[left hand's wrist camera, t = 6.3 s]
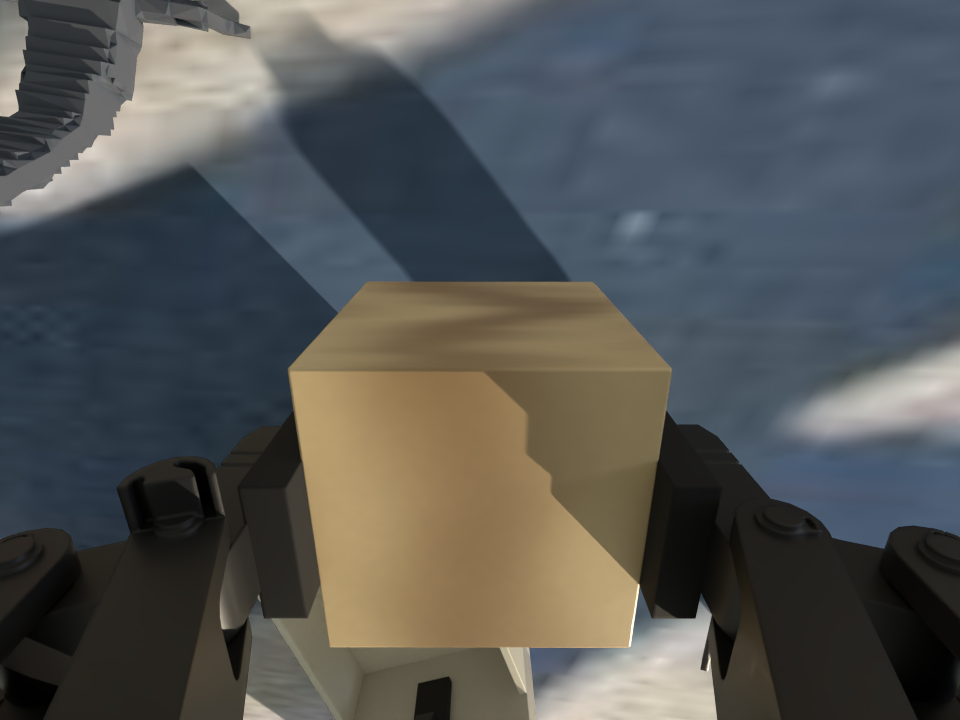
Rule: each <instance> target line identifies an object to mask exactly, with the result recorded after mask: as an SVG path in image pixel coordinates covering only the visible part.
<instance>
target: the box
mask: <svg viewBox="0 0 960 720" xmlns="http://www.w3.org/2000/svg"><path fill="white" fill-rule="evenodd" d="M257 598H258V599H259V601H260V596H259V595H258V597H257ZM260 602H261V601H260ZM271 620H272V621H273V623H274V624H275V626H276V627H277V629H278V631H279V632H280V634H281V635H282V637H283V638H284V640H285V642H286V643H287V645H288V646H289V648H290V649H291V651H292V652H293V654H294V656H295V657H296V659H297V660H298V662H299V663H300V665H301V667H302V668H303V670H304V671H305V673H306V674H307V676H308V678H309V679H310V681H311V682H312V684H313V685H314V687H315V688H316V690H317V692H318V693H319V695H320V696H321V698H322V699H323V701H324V703H325V704H326V706H327V707H328V709H329V710H330V712H331V714H332V715H333V717H334V718H335V720H414V713H415V704H416V696H417V687H418V683H422V682H426V681H430V680H435V679H439V678H443V677H448V676H449V677H450V679H451V681H452V689H451V708H450V720H536V712H535V702H534V692H533V682H532V672H531V663H530V653H529V647H329V645H328V638H327V631H326V625H325V618H324V611H323V604H322V598H321V591H320V587H319V589H318V592H317V595H316V597H315V600H314V603H313V605H312V608H311V611H310V614H309V616H308V618H271Z"/></svg>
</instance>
